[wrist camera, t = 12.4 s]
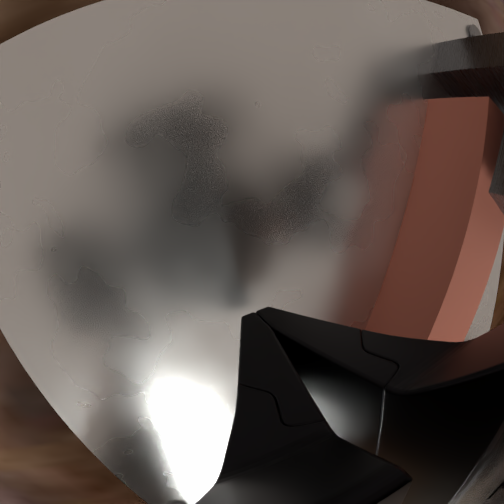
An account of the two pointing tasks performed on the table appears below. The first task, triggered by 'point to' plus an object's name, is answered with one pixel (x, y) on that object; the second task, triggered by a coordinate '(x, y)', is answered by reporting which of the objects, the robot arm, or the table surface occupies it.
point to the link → (445, 226)
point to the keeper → (476, 82)
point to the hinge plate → (200, 202)
